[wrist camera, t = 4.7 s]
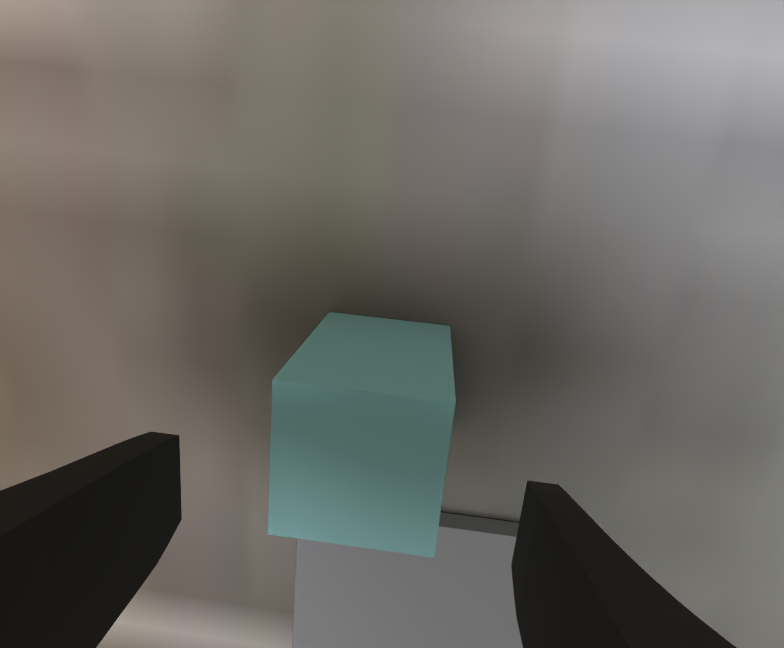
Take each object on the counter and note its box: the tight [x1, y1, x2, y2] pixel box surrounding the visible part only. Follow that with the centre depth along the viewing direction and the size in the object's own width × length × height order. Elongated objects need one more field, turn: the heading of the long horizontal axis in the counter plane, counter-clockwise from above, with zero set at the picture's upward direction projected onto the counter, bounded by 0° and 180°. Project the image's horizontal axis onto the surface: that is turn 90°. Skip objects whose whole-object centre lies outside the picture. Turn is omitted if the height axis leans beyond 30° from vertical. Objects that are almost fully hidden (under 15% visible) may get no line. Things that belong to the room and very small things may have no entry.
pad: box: [292, 512, 523, 648], centre depth 19 cm, size 9×8×1 cm
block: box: [268, 312, 456, 558], centre depth 14 cm, size 4×4×6 cm
